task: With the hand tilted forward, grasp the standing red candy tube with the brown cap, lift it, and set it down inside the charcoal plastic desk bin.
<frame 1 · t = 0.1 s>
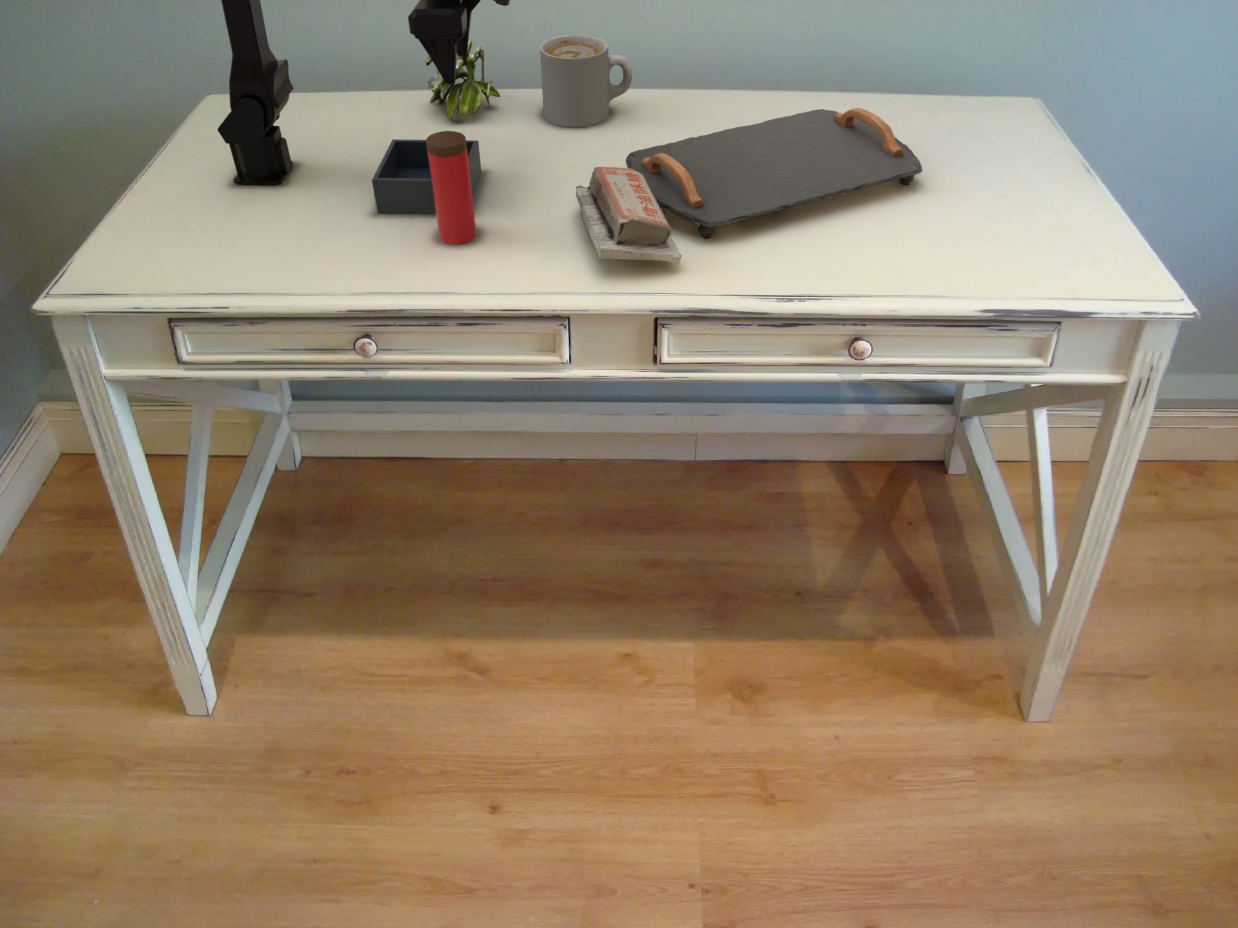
hand: (456, 69, 130), 15 cm above the table, tool pointing down, fingers open, 9 cm apart
candy tube: (457, 235, 127), on the table
packaged product: (624, 231, 125), point 1 cm above the table, touching serving tray
desk bin: (431, 192, 136), on the table
passion flower: (465, 108, 158), on the table
coffee mug: (587, 115, 155), on the table
serving tray: (770, 182, 138), on the table, touching packaged product
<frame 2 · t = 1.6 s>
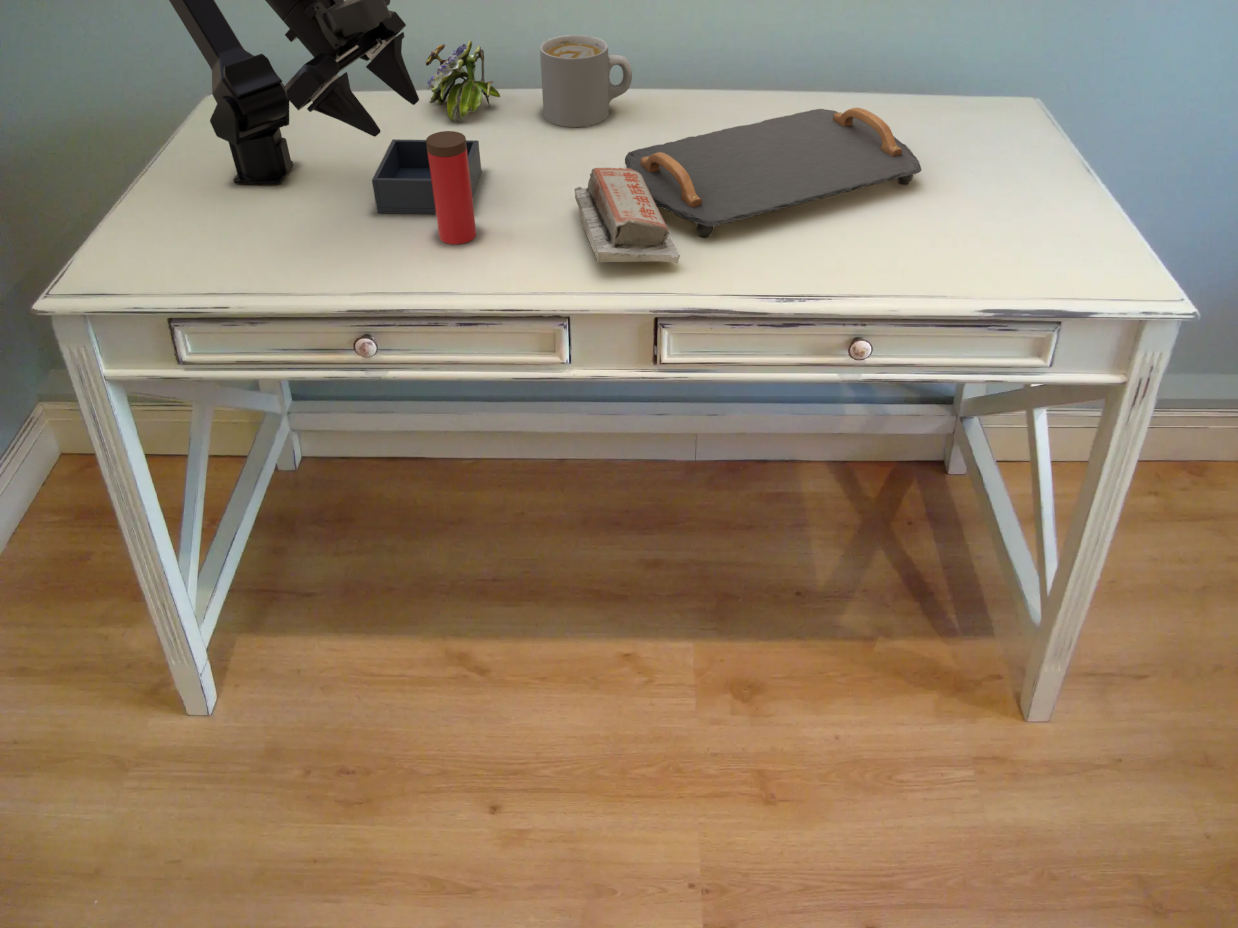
hand: (397, 118, 122), 13 cm above the table, tool tilted 40°, fingers open, 9 cm apart
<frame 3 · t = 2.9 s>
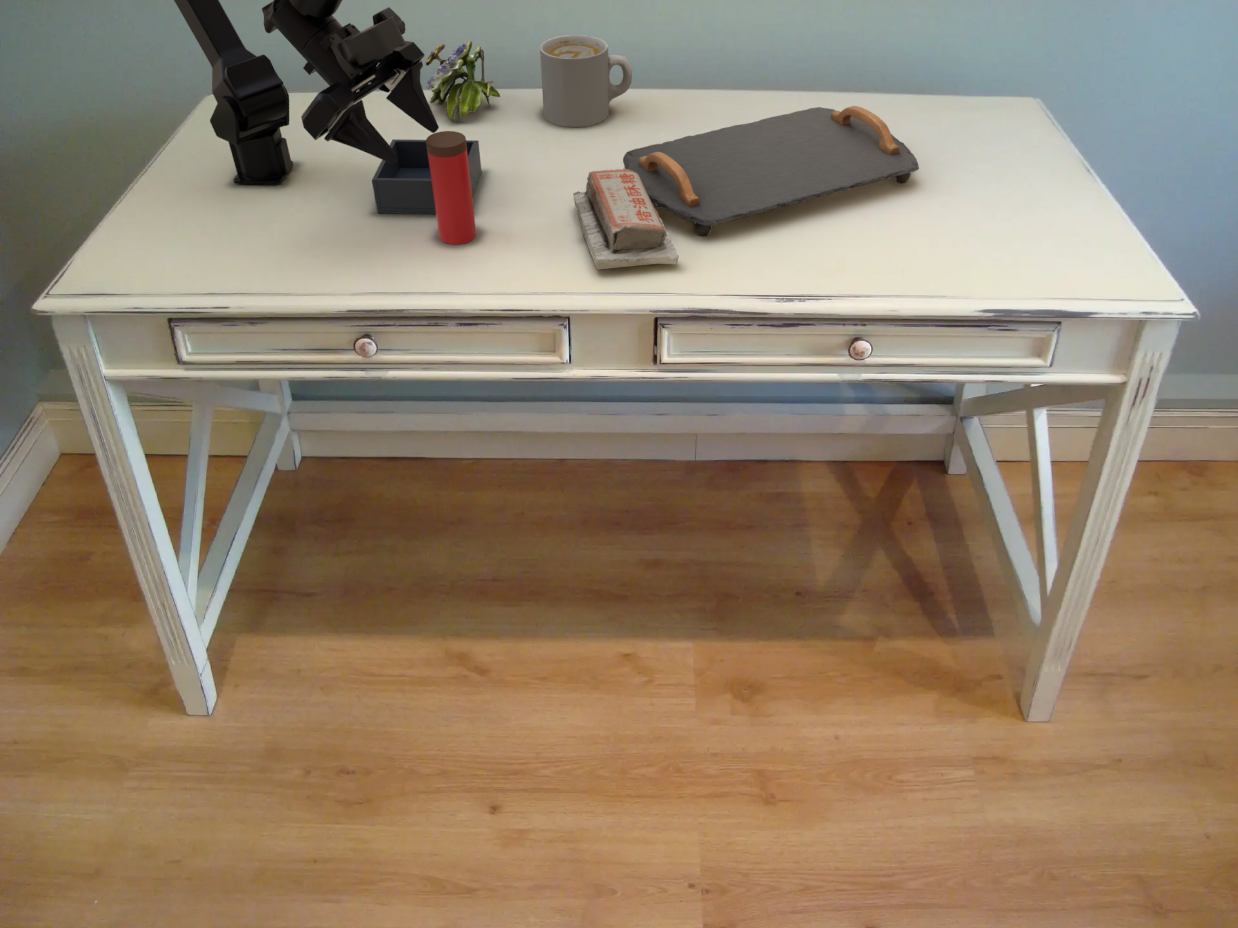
hand: (416, 145, 121), 11 cm above the table, tool tilted 45°, fingers open, 9 cm apart
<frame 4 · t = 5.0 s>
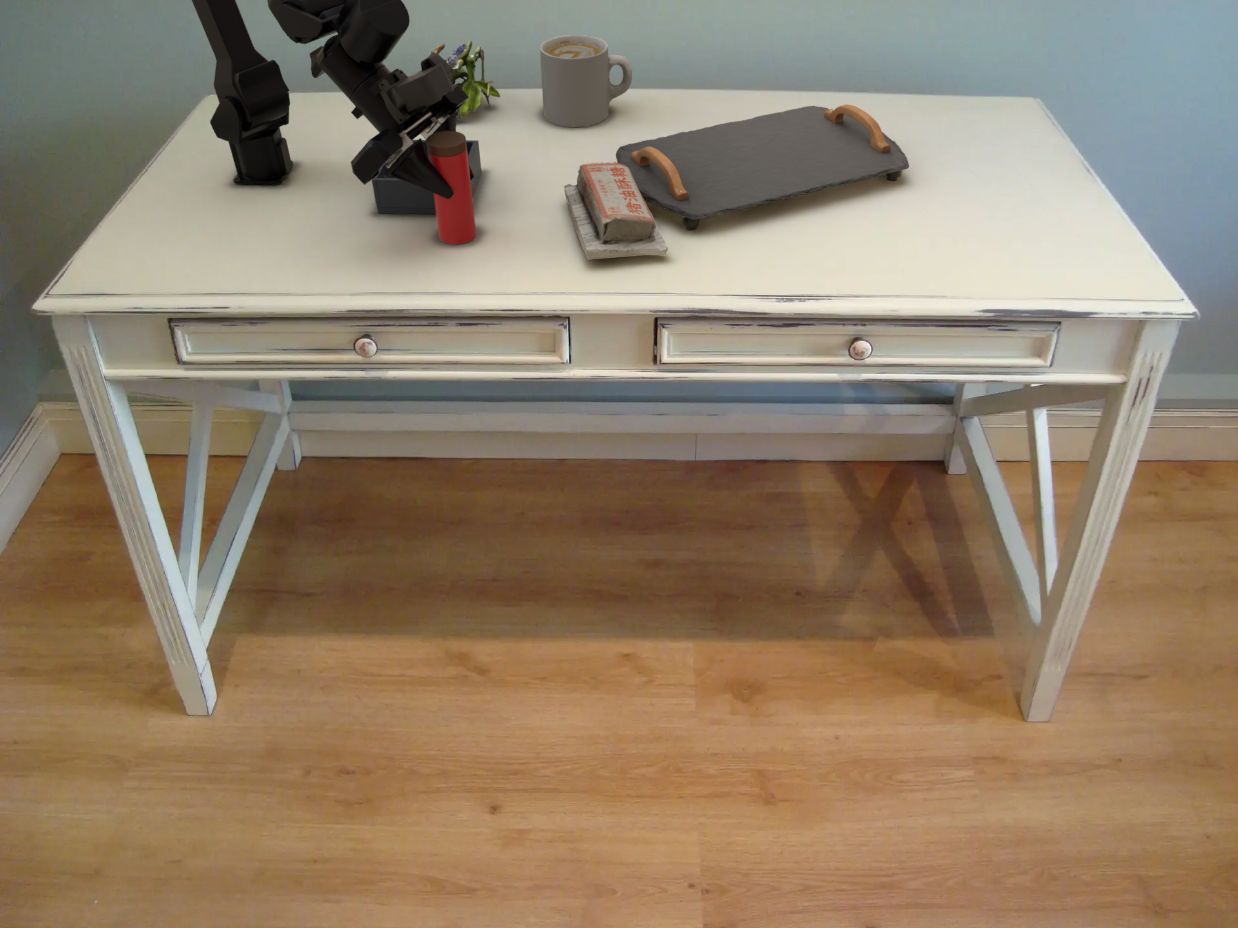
hand: (461, 188, 122), 7 cm above the table, tool tilted 45°, fingers closed on candy tube, 4 cm apart
candy tube: (457, 235, 127), on the table, touching gripper
packaged product: (612, 226, 128), on the table, touching serving tray
serving tray: (758, 176, 140), on the table, touching packaged product
everything else where it was.
when the fingers open (7 cm above the table, at t = 10.7 s): candy tube stays where it is, resting on desk bin.
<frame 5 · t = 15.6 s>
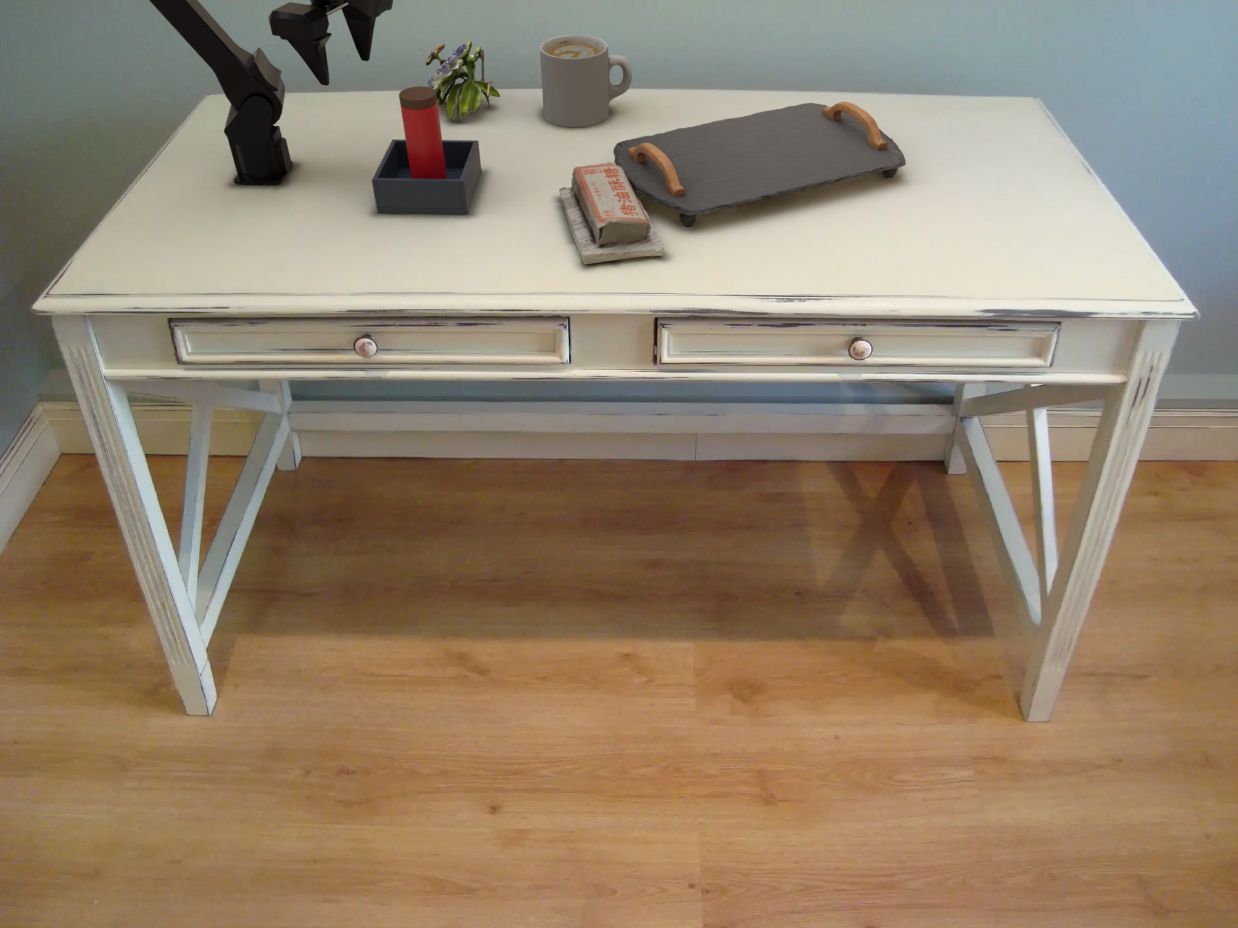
hand: (345, 72, 134), 13 cm above the table, tool pointing down, fingers open, 9 cm apart
candy tube: (430, 186, 136), point 1 cm above the table, touching desk bin
packaged product: (608, 228, 129), on the table
serving tray: (756, 173, 140), on the table
everything else where it was.
at the end: candy tube inside the target area in the desk bin (0.0 cm from its centre), point 0.8 cm above the desk bin's base; the gripper is holding nothing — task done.
